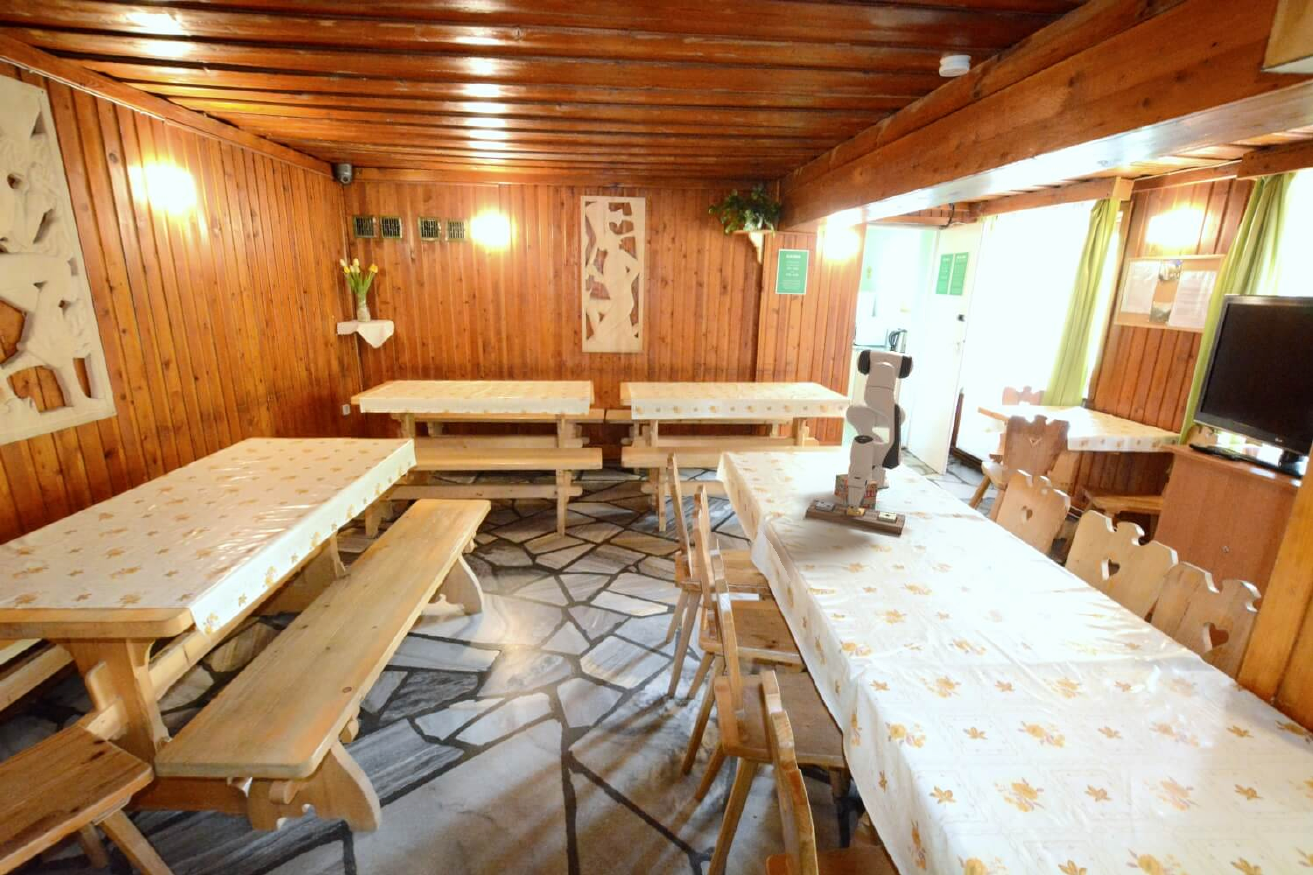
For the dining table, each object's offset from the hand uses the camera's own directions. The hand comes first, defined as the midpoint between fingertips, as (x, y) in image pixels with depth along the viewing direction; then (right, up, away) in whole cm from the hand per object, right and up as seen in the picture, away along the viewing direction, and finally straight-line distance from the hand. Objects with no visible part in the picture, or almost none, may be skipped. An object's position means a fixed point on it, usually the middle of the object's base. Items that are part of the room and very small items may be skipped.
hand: (856, 509), depth 232 cm
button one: (+11, -6, -4) cm, 13 cm away
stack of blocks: (+6, +1, +21) cm, 22 cm away
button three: (0, -4, +1) cm, 4 cm away
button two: (-11, -2, +7) cm, 13 cm away
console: (0, -4, +1) cm, 4 cm away
